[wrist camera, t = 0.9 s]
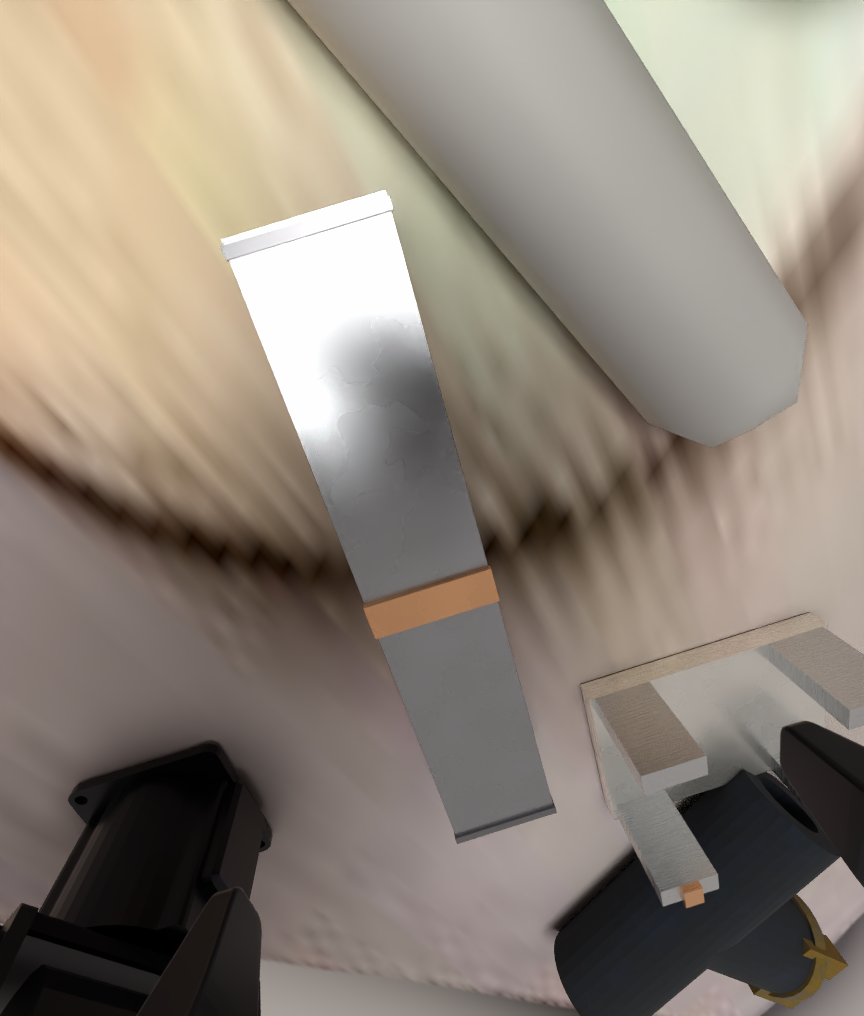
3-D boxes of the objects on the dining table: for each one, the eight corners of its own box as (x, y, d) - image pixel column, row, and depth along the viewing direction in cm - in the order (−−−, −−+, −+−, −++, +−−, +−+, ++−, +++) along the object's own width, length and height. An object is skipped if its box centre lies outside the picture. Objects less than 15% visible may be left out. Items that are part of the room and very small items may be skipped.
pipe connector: (945, 915, 24) (728, 1079, 28) (849, 814, 29) (675, 965, 33) (799, 839, 21) (575, 1034, 25) (719, 741, 26) (542, 915, 30)
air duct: (526, 734, 24) (558, 817, 20) (443, 760, 24) (458, 848, 20) (382, 219, 15) (387, 186, 12) (254, 258, 15) (216, 238, 11)
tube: (880, 341, 15) (58, -1096, 6) (785, 482, 14) (-273, -911, 6) (721, 367, 20) (143, -416, 11) (645, 472, 19) (-29, -278, 11)
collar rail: (605, 802, 26) (661, 916, 21) (580, 684, 23) (638, 785, 18) (808, 737, 26) (910, 836, 21) (809, 612, 23) (929, 693, 18)
